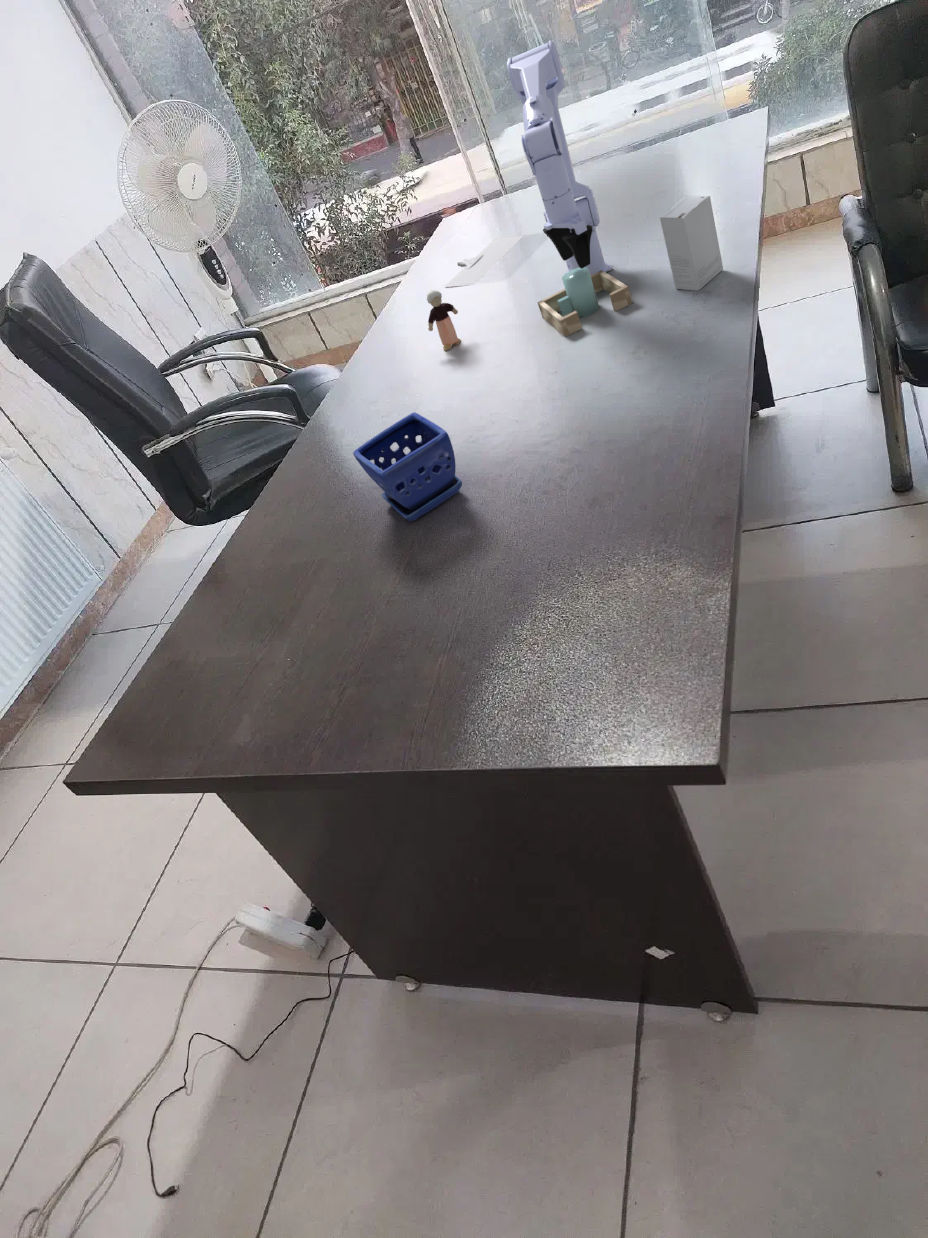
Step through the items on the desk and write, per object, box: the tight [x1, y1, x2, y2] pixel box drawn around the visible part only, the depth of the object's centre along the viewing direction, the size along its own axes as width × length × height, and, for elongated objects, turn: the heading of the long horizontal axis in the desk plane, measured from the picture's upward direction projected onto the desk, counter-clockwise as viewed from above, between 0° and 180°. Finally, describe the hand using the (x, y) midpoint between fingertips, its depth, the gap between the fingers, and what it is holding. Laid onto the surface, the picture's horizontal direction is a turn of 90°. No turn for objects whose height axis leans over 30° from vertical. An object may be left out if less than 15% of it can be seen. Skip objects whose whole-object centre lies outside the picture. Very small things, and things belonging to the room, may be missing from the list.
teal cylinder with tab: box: [557, 267, 600, 319], centre depth 176 cm, size 6×8×8 cm
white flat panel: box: [444, 235, 524, 288], centre depth 220 cm, size 25×24×1 cm
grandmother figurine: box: [426, 289, 462, 352], centre depth 187 cm, size 8×4×13 cm, turn 131°
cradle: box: [537, 270, 633, 338], centre depth 177 cm, size 14×15×4 cm
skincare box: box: [659, 195, 724, 292], centre depth 164 cm, size 8×6×15 cm
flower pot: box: [352, 412, 463, 522], centre depth 144 cm, size 13×13×12 cm
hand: (576, 261), depth 171 cm, fingers open, 7 cm apart
